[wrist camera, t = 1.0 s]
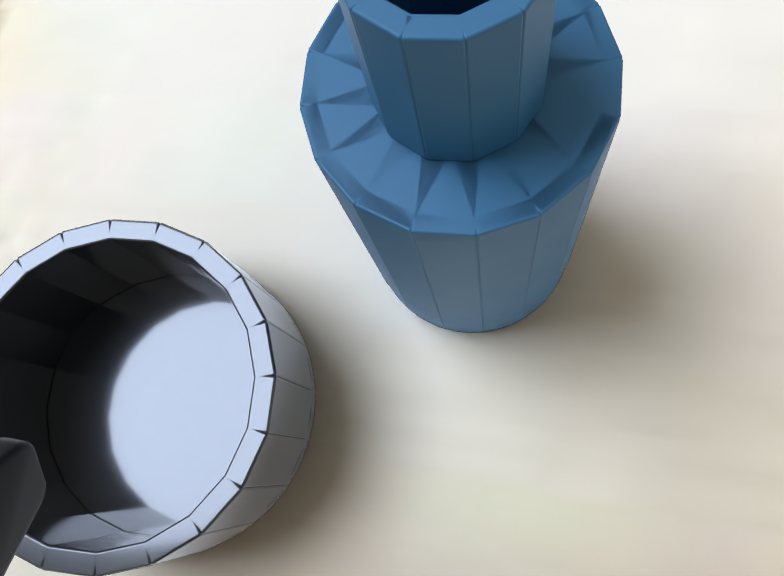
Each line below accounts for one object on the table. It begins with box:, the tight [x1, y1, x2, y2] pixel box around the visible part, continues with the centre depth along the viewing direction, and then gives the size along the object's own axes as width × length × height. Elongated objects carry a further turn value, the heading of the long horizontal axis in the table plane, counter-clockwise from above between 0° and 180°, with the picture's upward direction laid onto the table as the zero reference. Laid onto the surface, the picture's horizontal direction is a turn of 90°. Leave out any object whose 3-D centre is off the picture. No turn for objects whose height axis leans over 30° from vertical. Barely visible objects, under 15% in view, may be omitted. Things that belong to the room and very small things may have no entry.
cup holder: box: [0, 220, 315, 576], centre depth 21 cm, size 9×9×4 cm
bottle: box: [300, 0, 623, 332], centre depth 17 cm, size 6×6×14 cm
